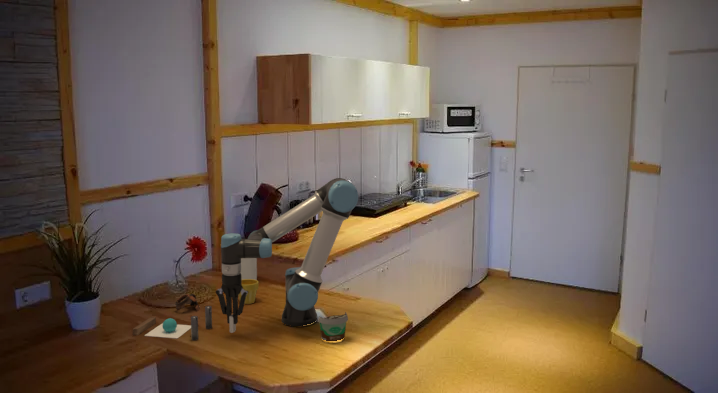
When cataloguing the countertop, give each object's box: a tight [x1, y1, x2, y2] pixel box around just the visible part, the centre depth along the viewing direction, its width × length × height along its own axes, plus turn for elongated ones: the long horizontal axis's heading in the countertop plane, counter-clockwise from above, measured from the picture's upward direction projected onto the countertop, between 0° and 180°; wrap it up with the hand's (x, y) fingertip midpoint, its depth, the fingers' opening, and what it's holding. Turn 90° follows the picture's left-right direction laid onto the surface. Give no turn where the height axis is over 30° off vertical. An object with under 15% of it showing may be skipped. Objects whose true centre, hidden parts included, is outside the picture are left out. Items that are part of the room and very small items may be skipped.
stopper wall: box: [132, 316, 157, 336], centre depth 238 cm, size 2×14×2 cm, turn 170°
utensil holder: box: [241, 258, 258, 281], centre depth 305 cm, size 15×15×18 cm
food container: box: [317, 311, 349, 341], centre depth 227 cm, size 12×6×10 cm, turn 117°
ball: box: [162, 317, 177, 332], centre depth 235 cm, size 6×6×6 cm
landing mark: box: [144, 322, 191, 339], centre depth 236 cm, size 14×14×1 cm
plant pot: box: [238, 279, 260, 305], centre depth 274 cm, size 10×10×10 cm
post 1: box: [190, 315, 199, 341], centre depth 227 cm, size 3×3×9 cm
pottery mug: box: [174, 293, 200, 312], centre depth 263 cm, size 12×10×8 cm
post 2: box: [204, 305, 213, 330], centre depth 239 cm, size 3×3×9 cm
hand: (232, 331), depth 231 cm, fingers closed
